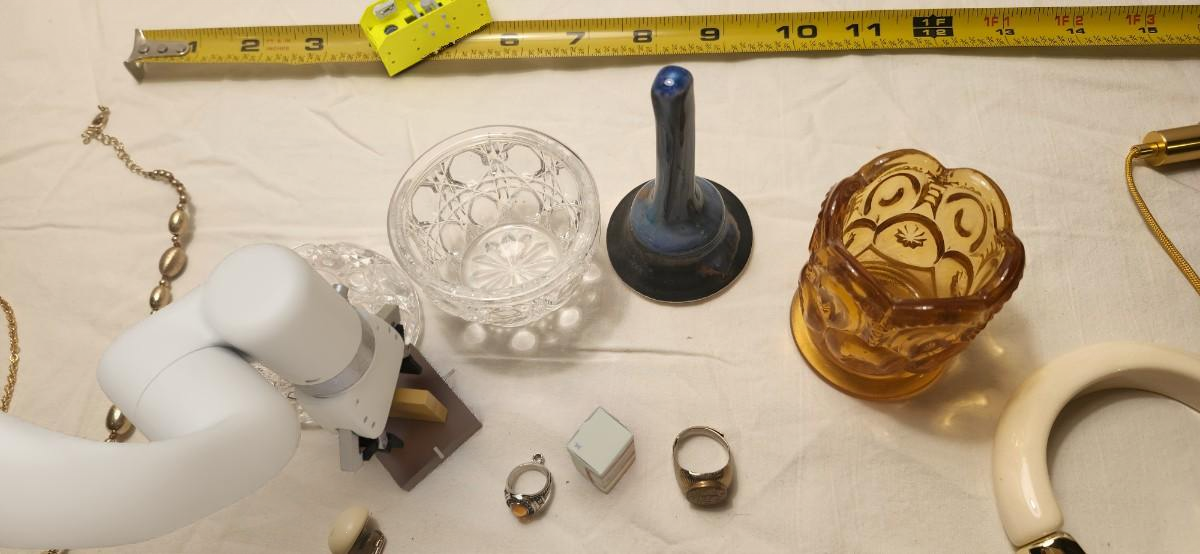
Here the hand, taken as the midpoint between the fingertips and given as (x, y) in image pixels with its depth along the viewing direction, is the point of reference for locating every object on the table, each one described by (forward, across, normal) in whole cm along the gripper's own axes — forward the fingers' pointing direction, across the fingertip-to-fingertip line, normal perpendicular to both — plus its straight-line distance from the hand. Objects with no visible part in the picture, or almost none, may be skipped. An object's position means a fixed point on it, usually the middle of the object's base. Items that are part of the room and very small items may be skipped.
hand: (398, 406), depth 76 cm
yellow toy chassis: (+5, -52, -10) cm, 53 cm away
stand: (+5, 0, 0) cm, 5 cm away
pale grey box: (+5, +2, +22) cm, 22 cm away
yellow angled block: (+2, 0, 0) cm, 2 cm away
